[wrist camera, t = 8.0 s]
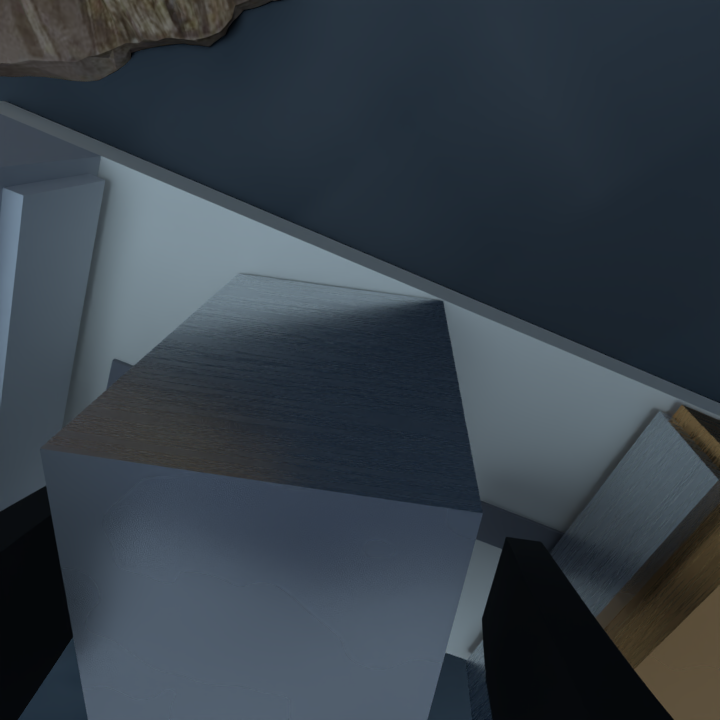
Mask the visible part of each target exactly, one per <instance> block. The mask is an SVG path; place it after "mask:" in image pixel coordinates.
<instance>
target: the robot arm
mask: <svg viewBox="0 0 720 720" xmlns="http://www.w3.org/2000/svg"><path fill="white" fill-rule="evenodd" d="M482 632H483V649H484V663H485V676H486V685H487V691H488V697H489V703H490V709H491V714H492V720H674V719H673V718H672V716H671V715H670V714H669V713H668V712H667V710H666V709H665V708H664V707H663V706H662V704H661V703H660V702H659V701H658V699H657V698H656V697H655V696H654V695H653V693H652V692H651V691H650V689H649V688H648V687H647V686H646V684H645V683H644V682H643V681H642V679H641V678H640V677H639V675H638V674H637V673H636V672H635V670H634V669H633V668H632V666H631V665H630V664H629V662H628V661H627V660H626V658H625V657H624V656H623V654H622V653H621V652H620V650H619V649H618V648H617V646H616V645H615V644H614V642H613V641H612V640H611V639H610V637H609V636H608V635H607V633H606V632H605V631H604V629H603V628H602V626H601V625H600V624H599V622H598V621H597V620H596V618H595V617H594V615H593V614H592V613H591V611H590V610H589V608H588V607H587V606H586V604H585V603H584V601H583V600H582V599H581V597H580V596H579V594H578V593H577V592H576V590H575V589H574V587H573V586H572V584H571V583H570V582H569V580H568V579H567V577H566V576H565V574H564V573H563V572H562V570H561V569H560V567H559V566H558V564H557V563H556V562H555V560H554V559H553V557H552V556H551V554H550V553H549V552H548V550H547V549H546V548H545V546H544V545H543V543H542V542H540V541H533V540H526V539H519V538H512V537H506V538H505V542H504V545H503V548H502V552H501V555H500V558H499V562H498V565H497V569H496V572H495V575H494V579H493V582H492V586H491V589H490V592H489V596H488V599H487V603H486V606H485V609H484V613H483V616H482ZM72 637H73V633H72V627H71V621H70V616H69V610H68V605H67V599H66V593H65V588H64V582H63V577H62V571H61V566H60V560H59V554H58V549H57V543H56V538H55V532H54V526H53V521H52V515H51V510H50V504H49V498H48V493H47V487H46V486H44V487H42V488H41V489H39V490H37V491H35V492H34V493H32V494H30V495H28V496H26V497H25V498H23V499H21V500H19V501H18V502H16V503H14V504H12V505H11V506H9V507H7V508H5V509H4V510H2V511H0V720H18V718H19V717H20V715H21V714H22V712H23V711H24V709H25V708H26V706H27V705H28V703H29V702H30V701H31V699H32V698H33V696H34V695H35V693H36V692H37V690H38V689H39V687H40V686H41V684H42V683H43V681H44V680H45V678H46V677H47V675H48V674H49V672H50V671H51V669H52V668H53V666H54V665H55V663H56V662H57V660H58V659H59V657H60V656H61V654H62V652H63V651H64V649H65V648H66V646H67V645H68V643H69V642H70V640H71V639H72Z"/></svg>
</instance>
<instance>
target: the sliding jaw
mask: <svg viewBox="0 0 720 720" xmlns="http://www.w3.org/2000/svg"><path fill="white" fill-rule="evenodd" d="M550 554H551V556H552V557H553V559H554V560H555V562H556V563H557V564H558V566H559V567H560V569H561V570H562V572H563V573H564V574H565V576H566V577H567V579H568V580H569V582H570V583H571V584H572V586H573V587H574V589H575V590H576V592H577V593H578V594H579V596H580V597H581V599H582V600H583V601H584V603H585V604H586V606H587V607H588V608H589V610H590V611H591V613H592V614H593V615H594V617H595V618H596V620H597V621H598V622H599V624H600V625H601V626H602V628H603V629H604V631H605V632H606V633H607V635H608V636H609V637H610V639H611V640H612V641H613V642H614V644H615V645H616V646H617V648H618V649H619V650H620V652H621V653H622V654H623V656H624V657H625V658H626V660H627V661H628V662H629V664H630V665H631V666H632V668H633V669H634V670H635V672H636V673H637V674H638V675H639V677H640V678H641V679H642V681H643V682H644V683H645V684H646V686H647V687H648V688H649V689H650V691H651V692H652V693H653V695H654V696H655V697H656V698H657V699H658V701H659V702H660V703H661V704H662V706H663V707H664V708H665V709H666V710H667V712H668V713H669V714H670V715H671V716H672V718H673V719H674V720H720V420H718V419H715V418H713V417H710V416H708V415H706V414H703V413H701V412H699V411H696V410H694V409H691V408H689V407H687V406H684V405H681V406H680V408H679V409H678V410H677V411H676V413H675V414H674V415H673V416H670V415H668V414H665V413H663V412H660V411H659V412H658V413H657V414H656V416H655V417H654V418H653V420H652V421H651V422H650V424H649V425H648V426H647V427H646V429H645V430H644V431H643V433H642V434H641V435H640V436H639V438H638V439H637V440H636V442H635V443H634V444H633V446H632V447H631V448H630V449H629V451H628V452H627V453H626V455H625V456H624V457H623V458H622V460H621V461H620V462H619V464H618V465H617V466H616V468H615V469H614V470H613V471H612V473H611V474H610V475H609V477H608V478H607V479H606V481H605V482H604V483H603V484H602V486H601V487H600V488H599V490H598V491H597V492H596V493H595V495H594V496H593V497H592V499H591V500H590V501H589V503H588V504H587V505H586V506H585V508H584V509H583V510H582V512H581V513H580V514H579V515H578V517H577V518H576V519H575V521H574V522H573V523H572V525H571V526H570V527H569V528H568V530H567V531H566V532H565V534H564V535H563V536H562V537H561V539H560V540H559V541H558V543H557V544H556V545H555V547H554V548H553V549H552V550H551V552H550ZM466 667H467V676H468V686H469V696H470V705H471V715H472V720H492V714H491V709H490V703H489V697H488V691H487V685H486V676H485V663H484V649H483V640H482V641H481V642H480V644H479V645H478V646H477V648H476V649H475V650H474V651H473V653H472V654H471V655H470V657H469V658H468V659H467V661H466Z"/></svg>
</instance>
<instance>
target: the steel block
mask: <svg viewBox="0 0 720 720" xmlns="http://www.w3.org/2000/svg"><path fill="white" fill-rule="evenodd" d="M40 454H41V459H42V465H43V471H44V476H45V482H46V487H47V493H48V498H49V504H50V510H51V515H52V521H53V526H54V532H55V538H56V543H57V549H58V554H59V560H60V566H61V571H62V577H63V582H64V588H65V593H66V599H67V605H68V610H69V616H70V621H71V627H72V633H73V638H74V644H75V649H76V655H77V661H78V666H79V672H80V677H81V683H82V689H83V694H84V700H85V705H86V711H87V716H88V720H427V719H428V715H429V711H430V708H431V704H432V700H433V696H434V693H435V689H436V685H437V682H438V678H439V674H440V671H441V667H442V663H443V659H444V656H445V652H446V648H447V645H448V641H449V637H450V633H451V630H452V626H453V622H454V619H455V615H456V611H457V607H458V604H459V600H460V596H461V593H462V589H463V585H464V582H465V578H466V574H467V570H468V567H469V563H470V559H471V556H472V552H473V548H474V544H475V541H476V537H477V533H478V530H479V526H480V522H481V519H482V515H483V512H482V506H481V501H480V495H479V490H478V485H477V479H476V474H475V469H474V463H473V458H472V453H471V447H470V442H469V437H468V431H467V426H466V421H465V415H464V410H463V405H462V399H461V394H460V388H459V383H458V378H457V372H456V367H455V362H454V356H453V351H452V346H451V340H450V335H449V330H448V324H447V319H446V314H445V308H444V303H443V301H440V300H433V299H425V298H418V297H410V296H403V295H395V294H388V293H380V292H373V291H365V290H358V289H350V288H343V287H335V286H328V285H321V284H313V283H306V282H298V281H291V280H283V279H276V278H268V277H261V276H253V275H246V274H237V275H236V276H235V277H234V278H233V279H232V280H230V281H229V282H228V283H227V284H226V285H225V286H224V287H222V288H221V289H220V290H219V291H218V292H217V293H216V294H214V295H213V296H212V297H211V298H210V299H209V300H208V301H207V302H205V303H204V304H203V305H202V306H201V307H200V308H199V309H197V310H196V311H195V312H194V313H193V314H192V315H191V316H190V317H188V318H187V319H186V320H185V321H184V322H183V323H182V324H180V325H179V326H178V327H177V328H176V329H175V330H174V331H173V332H171V333H170V334H169V335H168V336H167V337H166V338H165V339H163V340H162V341H161V342H160V343H159V344H158V345H157V346H155V347H154V348H153V349H152V350H151V351H150V352H149V353H148V354H146V355H145V356H144V357H143V358H142V359H141V360H140V361H138V362H137V363H136V364H135V365H134V366H133V367H132V368H131V369H129V370H128V371H127V372H126V373H125V374H124V375H123V376H121V377H120V378H119V379H118V380H117V381H116V382H115V383H113V384H112V385H111V386H110V387H109V388H108V389H107V390H106V391H104V392H103V393H102V394H101V395H100V396H99V397H98V398H96V399H95V400H94V401H93V402H92V403H91V404H90V405H89V406H87V407H86V408H85V409H84V410H83V411H82V412H81V413H79V414H78V415H77V416H76V417H75V418H74V419H73V420H72V421H70V422H69V423H68V424H67V425H66V426H65V427H64V428H62V429H61V430H60V431H59V432H58V433H57V434H56V435H54V436H53V437H52V438H51V439H50V440H49V441H48V442H47V443H45V444H44V445H43V446H42V447H41V448H40Z"/></svg>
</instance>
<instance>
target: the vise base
mask: <svg viewBox="0 0 720 720" xmlns="http://www.w3.org/2000/svg"><path fill="white" fill-rule="evenodd" d="M237 274H246V275H253V276H261V277H268V278H276V279H283V280H291V281H298V282H306V283H313V284H321V285H328V286H335V287H343V288H350V289H358V290H365V291H373V292H380V293H388V294H395V295H403V296H410V297H418V298H425V299H433V300H440V301H443V303H444V308H445V314H446V319H447V324H448V330H449V335H450V340H451V346H452V351H453V356H454V362H455V367H456V372H457V378H458V383H459V388H460V394H461V399H462V405H463V410H464V415H465V421H466V426H467V431H468V437H469V442H470V447H471V453H472V458H473V463H474V469H475V474H476V479H477V485H478V490H479V495H480V501H481V506H482V512H483V515H482V519H481V522H480V526H479V530H478V533H477V537H476V541H475V544H474V548H473V552H472V556H471V559H470V563H469V567H468V570H467V574H466V578H465V582H464V585H463V589H462V593H461V596H460V600H459V604H458V607H457V611H456V615H455V619H454V622H453V626H452V630H451V633H450V637H449V641H448V645H447V648H446V653H449V654H452V655H454V656H457V657H460V658H463V659H465V660H467V659H468V658H469V657H470V655H471V654H472V653H473V651H474V650H475V649H476V648H477V646H478V645H479V644H480V642H481V641H482V640H483V632H482V616H483V613H484V609H485V606H486V603H487V599H488V596H489V592H490V589H491V586H492V582H493V579H494V575H495V572H496V569H497V565H498V562H499V558H500V555H501V552H502V548H503V545H504V542H505V538H506V537H512V538H519V539H526V540H533V541H540V542H542V543H543V545H544V546H545V548H546V549H547V550H548V552H549V553H550V552H551V550H552V549H553V548H554V547H555V545H556V544H557V543H558V541H559V540H560V539H561V537H562V536H563V535H564V534H565V532H566V531H567V530H568V528H569V527H570V526H571V525H572V523H573V522H574V521H575V519H576V518H577V517H578V515H579V514H580V513H581V512H582V510H583V509H584V508H585V506H586V505H587V504H588V503H589V501H590V500H591V499H592V497H593V496H594V495H595V493H596V492H597V491H598V490H599V488H600V487H601V486H602V484H603V483H604V482H605V481H606V479H607V478H608V477H609V475H610V474H611V473H612V471H613V470H614V469H615V468H616V466H617V465H618V464H619V462H620V461H621V460H622V458H623V457H624V456H625V455H626V453H627V452H628V451H629V449H630V448H631V447H632V446H633V444H634V443H635V442H636V440H637V439H638V438H639V436H640V435H641V434H642V433H643V431H644V430H645V429H646V427H647V426H648V425H649V424H650V422H651V421H652V420H653V418H654V417H655V416H656V414H657V413H658V412H659V411H660V412H663V413H665V414H668V415H670V416H673V415H674V414H675V413H676V411H677V410H678V409H679V408H680V406H681V405H684V406H687V407H689V408H691V409H694V410H696V411H699V412H701V413H703V414H706V415H708V416H710V417H713V418H715V419H718V420H720V403H718V402H716V401H713V400H711V399H708V398H706V397H704V396H701V395H699V394H697V393H694V392H692V391H689V390H687V389H685V388H682V387H680V386H678V385H675V384H673V383H671V382H668V381H666V380H663V379H661V378H659V377H656V376H654V375H652V374H649V373H647V372H645V371H642V370H640V369H637V368H635V367H633V366H630V365H628V364H626V363H623V362H621V361H619V360H616V359H614V358H611V357H609V356H607V355H604V354H602V353H600V352H597V351H595V350H592V349H590V348H588V347H585V346H583V345H581V344H578V343H576V342H574V341H571V340H569V339H566V338H564V337H562V336H559V335H557V334H555V333H552V332H550V331H548V330H545V329H543V328H540V327H538V326H536V325H533V324H531V323H529V322H526V321H524V320H522V319H519V318H517V317H514V316H512V315H510V314H507V313H505V312H503V311H500V310H498V309H495V308H493V307H491V306H488V305H486V304H484V303H481V302H479V301H477V300H474V299H472V298H469V297H467V296H465V295H462V294H460V293H458V292H455V291H453V290H451V289H448V288H446V287H443V286H441V285H439V284H436V283H434V282H432V281H429V280H427V279H425V278H422V277H420V276H417V275H415V274H413V273H410V272H408V271H406V270H403V269H401V268H399V267H396V266H394V265H391V264H389V263H387V262H384V261H382V260H380V259H377V258H375V257H372V256H370V255H368V254H365V253H363V252H361V251H358V250H356V249H354V248H351V247H349V246H346V245H344V244H342V243H339V242H337V241H335V240H332V239H330V238H328V237H325V236H323V235H320V234H318V233H316V232H313V231H311V230H309V229H306V228H304V227H302V226H299V225H297V224H294V223H292V222H290V221H287V220H285V219H283V218H280V217H278V216H275V215H273V214H271V213H268V212H266V211H264V210H261V209H259V208H257V207H254V206H252V205H249V204H247V203H245V202H242V201H240V200H238V199H235V198H233V197H231V196H228V195H226V194H223V193H221V192H219V191H216V190H214V189H212V188H209V187H207V186H205V185H202V184H200V183H197V182H195V181H193V180H190V179H188V178H186V177H183V176H181V175H178V174H176V173H174V172H171V171H169V170H167V169H164V168H162V167H160V166H157V165H155V164H152V163H150V162H148V161H145V160H143V159H141V158H138V157H136V156H134V155H131V154H129V153H126V152H124V151H122V150H119V149H117V148H115V147H112V146H110V145H108V144H105V143H103V142H100V141H98V140H96V139H93V138H91V137H89V136H86V135H84V134H81V133H79V132H77V131H74V130H72V129H70V128H67V127H65V126H63V125H60V124H58V123H55V122H53V121H51V120H48V119H46V118H44V117H41V116H39V115H37V114H34V113H32V112H29V111H27V110H25V109H22V108H20V107H18V106H15V105H13V104H11V103H8V102H6V101H0V511H2V510H4V509H5V508H7V507H9V506H11V505H12V504H14V503H16V502H18V501H19V500H21V499H23V498H25V497H26V496H28V495H30V494H32V493H34V492H35V491H37V490H39V489H41V488H42V487H44V486H46V482H45V476H44V471H43V465H42V459H41V454H40V448H41V447H42V446H43V445H44V444H45V443H47V442H48V441H49V440H50V439H51V438H52V437H53V436H54V435H56V434H57V433H58V432H59V431H60V430H61V429H62V428H64V427H65V426H66V425H67V424H68V423H69V422H70V421H72V420H73V419H74V418H75V417H76V416H77V415H78V414H79V413H81V412H82V411H83V410H84V409H85V408H86V407H87V406H89V405H90V404H91V403H92V402H93V401H94V400H95V399H96V398H98V397H99V396H100V395H101V394H102V393H103V392H104V391H106V390H107V389H108V388H109V387H110V386H111V385H112V384H113V383H115V382H116V381H117V380H118V379H119V378H120V377H121V376H123V375H124V374H125V373H126V372H127V371H128V370H129V369H131V368H132V367H133V366H134V365H135V364H136V363H137V362H138V361H140V360H141V359H142V358H143V357H144V356H145V355H146V354H148V353H149V352H150V351H151V350H152V349H153V348H154V347H155V346H157V345H158V344H159V343H160V342H161V341H162V340H163V339H165V338H166V337H167V336H168V335H169V334H170V333H171V332H173V331H174V330H175V329H176V328H177V327H178V326H179V325H180V324H182V323H183V322H184V321H185V320H186V319H187V318H188V317H190V316H191V315H192V314H193V313H194V312H195V311H196V310H197V309H199V308H200V307H201V306H202V305H203V304H204V303H205V302H207V301H208V300H209V299H210V298H211V297H212V296H213V295H214V294H216V293H217V292H218V291H219V290H220V289H221V288H222V287H224V286H225V285H226V284H227V283H228V282H229V281H230V280H232V279H233V278H234V277H235V276H236V275H237Z"/></svg>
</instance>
